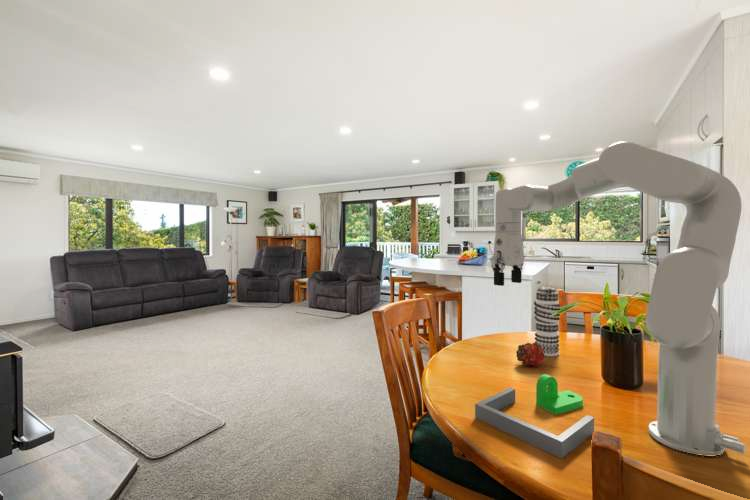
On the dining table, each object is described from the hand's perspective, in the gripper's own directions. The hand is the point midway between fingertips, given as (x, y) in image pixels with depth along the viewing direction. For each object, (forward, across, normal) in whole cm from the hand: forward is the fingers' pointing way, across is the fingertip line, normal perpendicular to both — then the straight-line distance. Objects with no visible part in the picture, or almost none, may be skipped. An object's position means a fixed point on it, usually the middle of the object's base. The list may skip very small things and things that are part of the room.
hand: (507, 283), depth 112 cm
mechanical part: (+31, -5, -19) cm, 36 cm away
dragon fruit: (+30, +17, +2) cm, 35 cm away
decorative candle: (+30, +34, +4) cm, 46 cm away
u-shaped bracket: (+30, -20, -19) cm, 41 cm away
